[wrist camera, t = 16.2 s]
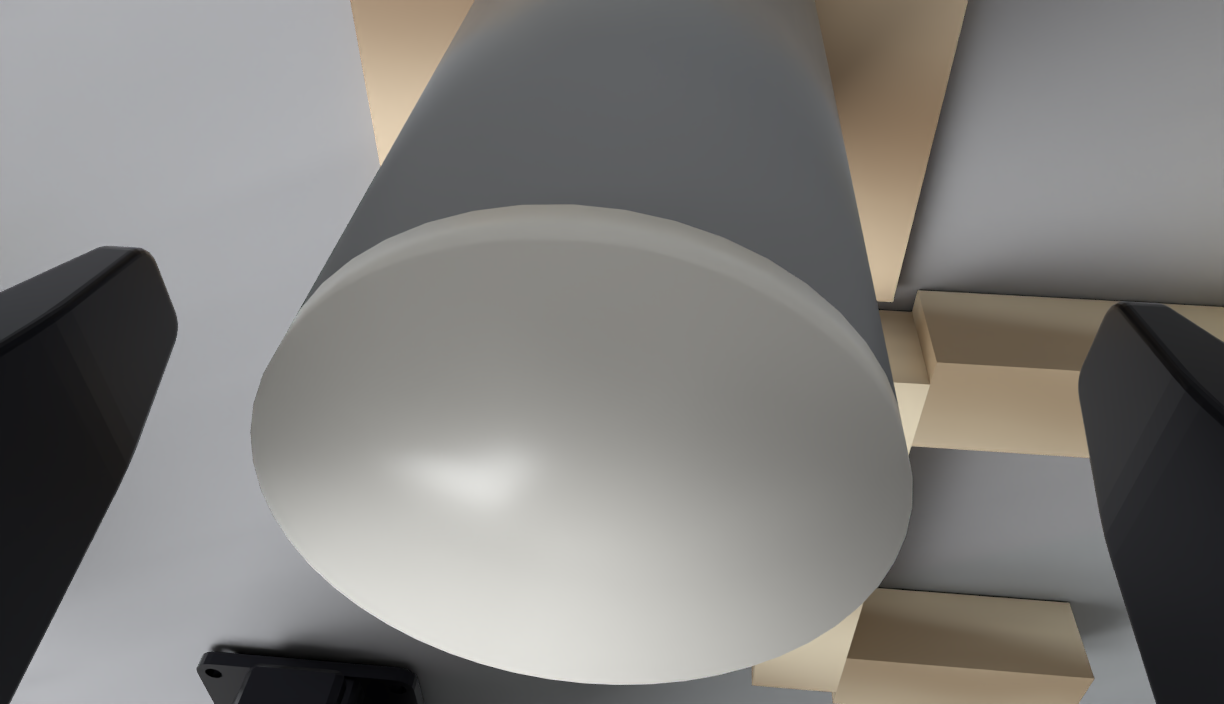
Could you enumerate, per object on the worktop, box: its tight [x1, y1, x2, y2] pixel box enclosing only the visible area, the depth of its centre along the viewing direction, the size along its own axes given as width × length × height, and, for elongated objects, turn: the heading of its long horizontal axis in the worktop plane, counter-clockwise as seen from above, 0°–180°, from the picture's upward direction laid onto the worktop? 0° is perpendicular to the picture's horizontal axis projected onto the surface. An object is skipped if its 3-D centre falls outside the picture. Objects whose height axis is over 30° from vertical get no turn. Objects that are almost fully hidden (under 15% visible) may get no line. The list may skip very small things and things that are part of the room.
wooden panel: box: [350, 0, 968, 302], centre depth 14 cm, size 9×9×1 cm
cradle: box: [752, 290, 1224, 704], centre depth 20 cm, size 11×8×2 cm
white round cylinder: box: [250, 0, 913, 685], centre depth 11 cm, size 5×5×9 cm
